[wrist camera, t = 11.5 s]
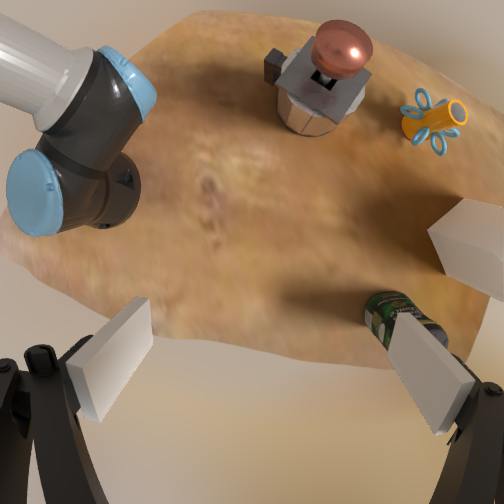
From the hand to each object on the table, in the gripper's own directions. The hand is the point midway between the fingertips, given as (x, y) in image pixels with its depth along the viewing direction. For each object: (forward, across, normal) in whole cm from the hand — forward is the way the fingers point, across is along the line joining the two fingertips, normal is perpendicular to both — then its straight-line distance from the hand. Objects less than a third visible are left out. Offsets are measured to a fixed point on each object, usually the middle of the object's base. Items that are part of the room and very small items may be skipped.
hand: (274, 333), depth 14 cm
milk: (+37, +39, +2) cm, 54 cm away
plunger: (+34, +6, +22) cm, 41 cm away
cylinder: (+37, +26, +22) cm, 50 cm away
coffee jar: (+37, +24, -14) cm, 46 cm away
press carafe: (+37, +5, +23) cm, 43 cm away
